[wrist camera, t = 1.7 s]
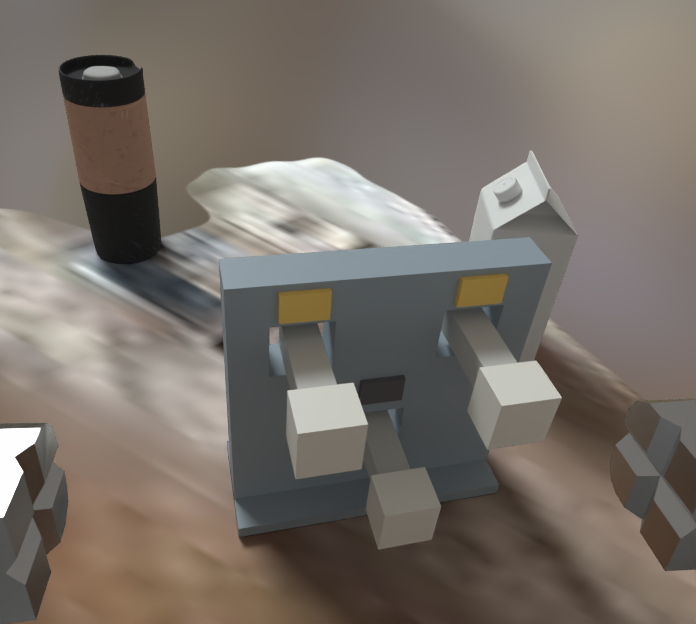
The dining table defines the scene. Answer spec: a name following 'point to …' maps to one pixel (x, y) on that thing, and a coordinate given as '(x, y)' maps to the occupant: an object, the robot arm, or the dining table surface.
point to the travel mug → (113, 154)
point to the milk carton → (528, 231)
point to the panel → (366, 363)
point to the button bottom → (396, 488)
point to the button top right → (500, 383)
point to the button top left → (319, 408)
